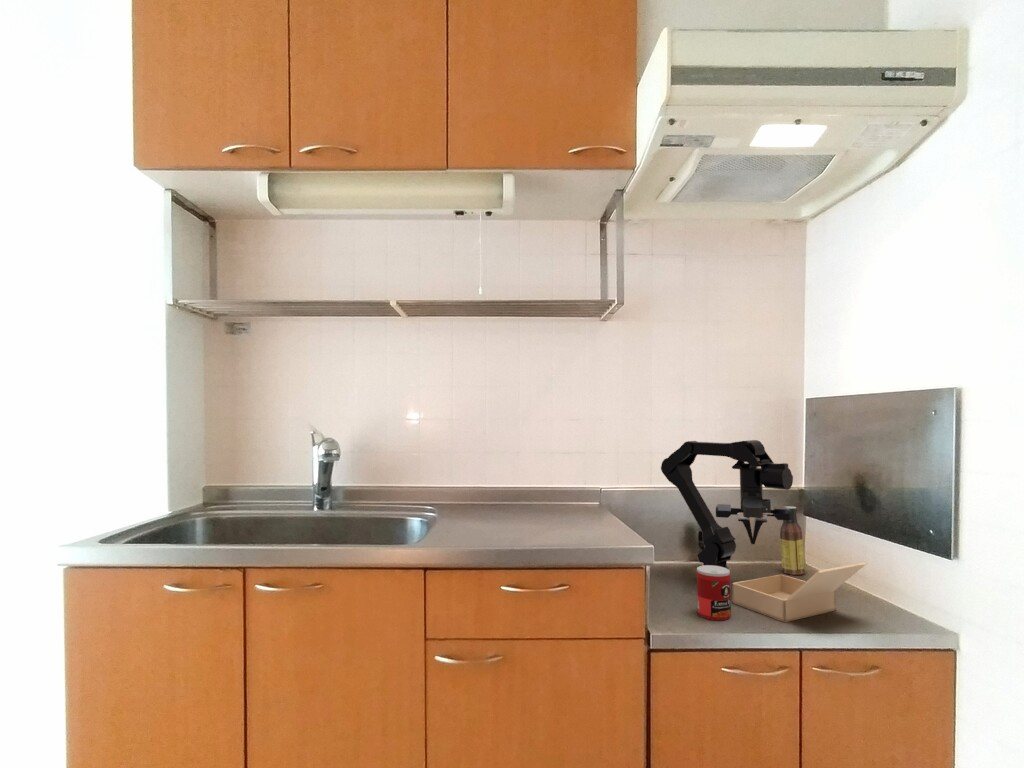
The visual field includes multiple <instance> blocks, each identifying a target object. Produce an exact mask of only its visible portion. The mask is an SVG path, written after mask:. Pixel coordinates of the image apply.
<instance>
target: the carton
mask: <svg viewBox="0 0 1024 768" xmlns="http://www.w3.org/2000/svg"><path fill="white" fill-rule="evenodd" d="M806 581H807V580H806ZM806 581H805V580H802V579H799V578H797V577H796V578H795V577H792V576H789V575H786V574H781V573H780V574H775V575H769V576H764V577H758V578H751V579H748V580H743V581H737V582H736V581H735V582H732V583H731V604H734V605H737V606H739V607H742V608H745V609H748V610H750V611H754V612H755V613H759V614H760V615H764V616H767V617H769V618H772V619H775V620H777V621H780V622H783V623H788V622H791V621H796V620H800V619H805V618H810V617H813V616H814V617H815V616H818V615H819V616H820V615H822V614H827V613H828V614H829V613H831V612H835V611H837V598H836V594H837V593H836V592H837V591H836V590H835V591H832V592H827V593H823V594H818V595H813V596H808V597H804V598H799V599H794V600H789V601H788V600H787V598H788V597H789V596H791V595H792V594H793V593H794V592H795V591H796V590H797V589H798V588H799V587H801V586H802V585H803V584H804V583H805V582H806Z"/></svg>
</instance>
